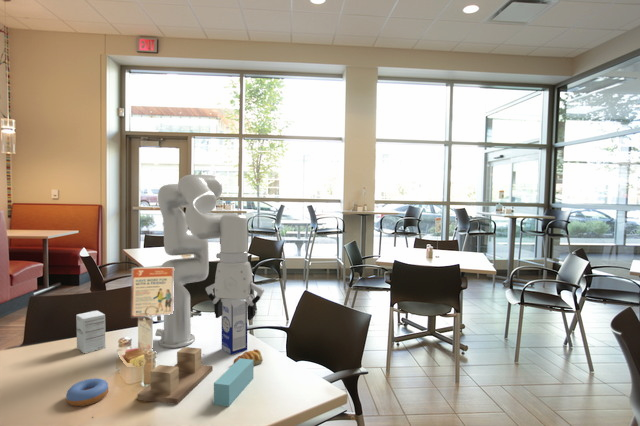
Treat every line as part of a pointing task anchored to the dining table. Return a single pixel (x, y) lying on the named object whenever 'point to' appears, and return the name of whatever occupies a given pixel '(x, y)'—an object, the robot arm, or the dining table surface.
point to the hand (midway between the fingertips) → (234, 317)
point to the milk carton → (234, 326)
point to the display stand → (176, 378)
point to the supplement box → (90, 331)
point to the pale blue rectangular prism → (233, 382)
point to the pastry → (251, 357)
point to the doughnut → (87, 392)
